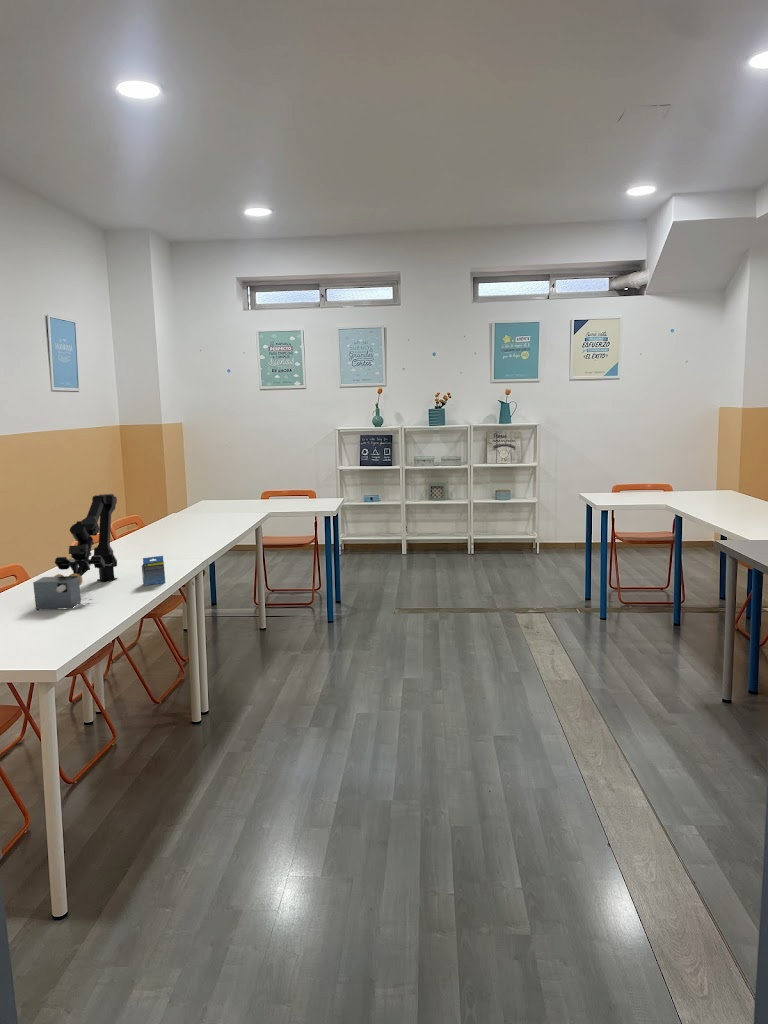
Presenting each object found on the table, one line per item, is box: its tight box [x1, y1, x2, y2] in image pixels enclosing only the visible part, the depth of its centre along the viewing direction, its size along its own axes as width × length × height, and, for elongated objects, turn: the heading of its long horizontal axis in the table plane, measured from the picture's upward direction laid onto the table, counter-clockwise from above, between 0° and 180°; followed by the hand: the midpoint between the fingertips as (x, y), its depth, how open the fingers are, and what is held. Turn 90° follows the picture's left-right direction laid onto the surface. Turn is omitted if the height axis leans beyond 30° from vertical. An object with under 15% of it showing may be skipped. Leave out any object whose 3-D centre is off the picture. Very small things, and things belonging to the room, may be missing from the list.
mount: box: [33, 574, 82, 610], centre depth 296 cm, size 13×14×11 cm
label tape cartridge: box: [141, 555, 166, 586], centre depth 327 cm, size 9×4×12 cm, turn 119°
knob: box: [56, 573, 84, 593], centre depth 294 cm, size 16×6×6 cm, turn 1°
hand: (75, 580), depth 302 cm, fingers closed, pressing on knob
